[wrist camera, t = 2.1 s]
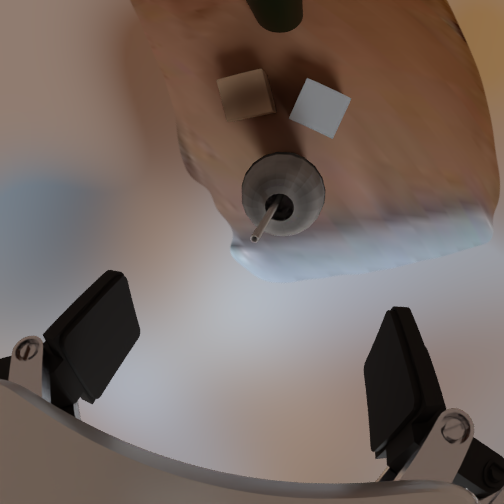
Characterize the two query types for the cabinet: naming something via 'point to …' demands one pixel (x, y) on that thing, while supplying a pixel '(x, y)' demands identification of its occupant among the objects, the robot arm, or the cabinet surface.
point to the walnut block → (246, 95)
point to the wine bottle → (277, 14)
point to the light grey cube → (320, 108)
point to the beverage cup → (282, 194)
